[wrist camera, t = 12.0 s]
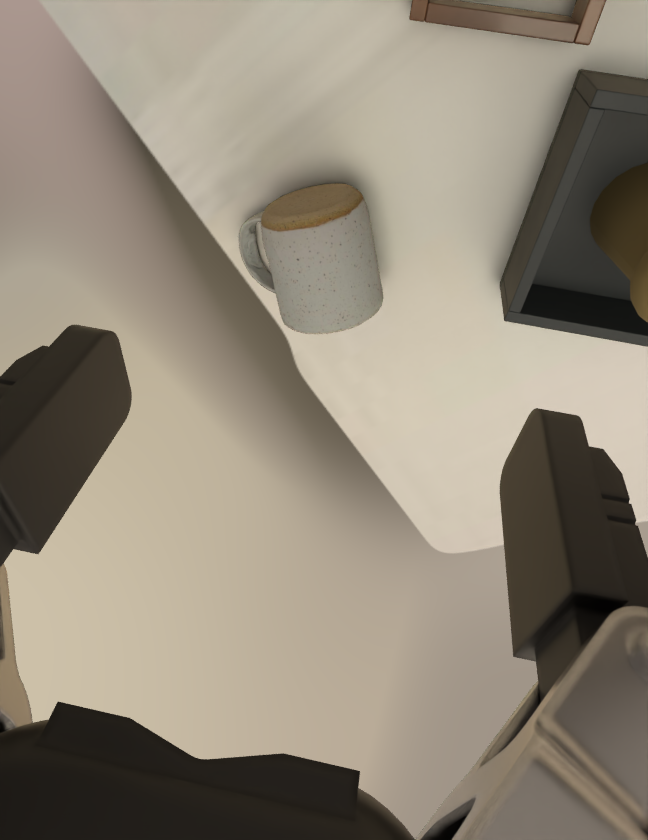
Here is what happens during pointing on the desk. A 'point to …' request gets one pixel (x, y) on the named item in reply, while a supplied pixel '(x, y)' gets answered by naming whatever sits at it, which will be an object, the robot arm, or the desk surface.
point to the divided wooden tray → (513, 19)
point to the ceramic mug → (317, 258)
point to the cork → (626, 230)
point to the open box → (580, 217)
